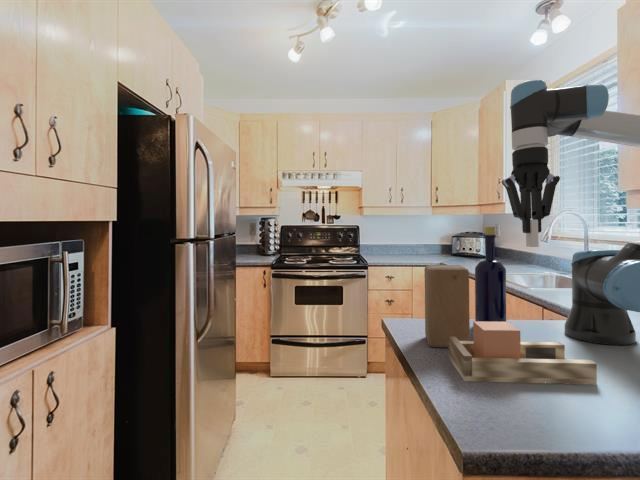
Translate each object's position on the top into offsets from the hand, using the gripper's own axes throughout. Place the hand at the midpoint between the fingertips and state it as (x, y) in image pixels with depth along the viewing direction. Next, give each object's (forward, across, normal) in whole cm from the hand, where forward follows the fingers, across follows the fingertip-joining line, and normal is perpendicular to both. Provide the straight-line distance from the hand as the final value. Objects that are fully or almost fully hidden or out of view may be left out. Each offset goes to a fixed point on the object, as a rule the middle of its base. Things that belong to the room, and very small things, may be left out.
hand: (532, 246), depth 89 cm
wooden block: (+25, +20, -6) cm, 32 cm away
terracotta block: (+23, +15, +13) cm, 31 cm away
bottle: (+25, +2, -19) cm, 32 cm away
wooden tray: (+25, +11, +13) cm, 30 cm away
